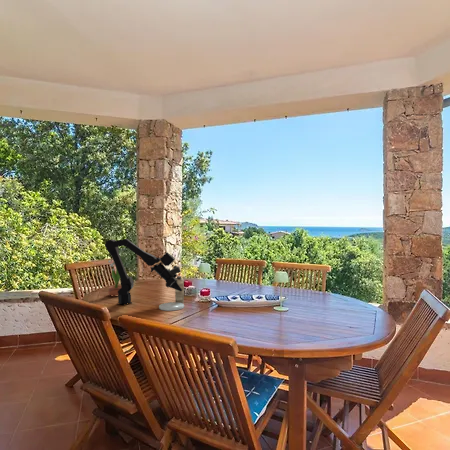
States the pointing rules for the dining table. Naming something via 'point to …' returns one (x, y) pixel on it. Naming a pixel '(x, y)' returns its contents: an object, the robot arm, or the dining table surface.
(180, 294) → the beige striped cylinder
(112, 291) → the potted flower
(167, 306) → the plate
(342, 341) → the dining table surface
